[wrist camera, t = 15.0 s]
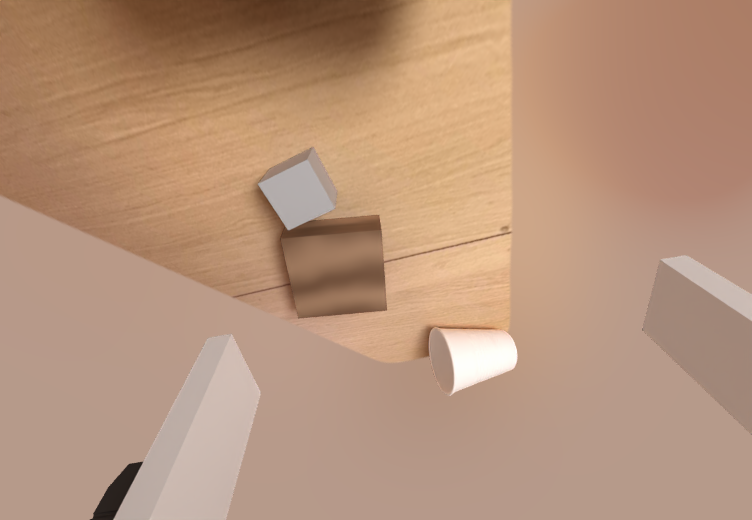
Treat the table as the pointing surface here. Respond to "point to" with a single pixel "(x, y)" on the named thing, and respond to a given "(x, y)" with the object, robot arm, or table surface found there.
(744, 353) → the robot arm
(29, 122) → the table surface
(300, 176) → the grey cube
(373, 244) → the walnut block
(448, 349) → the cup
